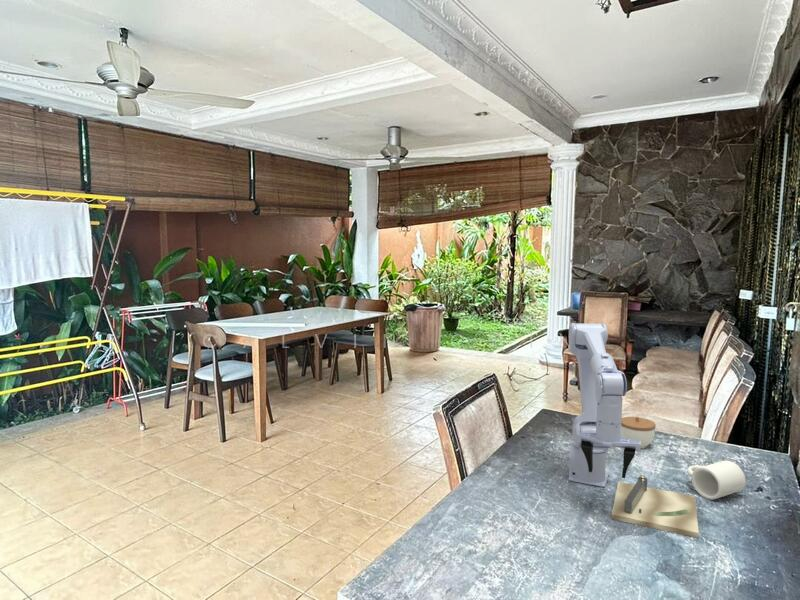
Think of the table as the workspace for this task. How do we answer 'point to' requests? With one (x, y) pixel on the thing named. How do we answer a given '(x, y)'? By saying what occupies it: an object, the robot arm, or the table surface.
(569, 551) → the table surface
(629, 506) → the pointer
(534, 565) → the table surface
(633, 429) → the lidded jar
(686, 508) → the board
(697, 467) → the mug
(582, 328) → the robot arm
